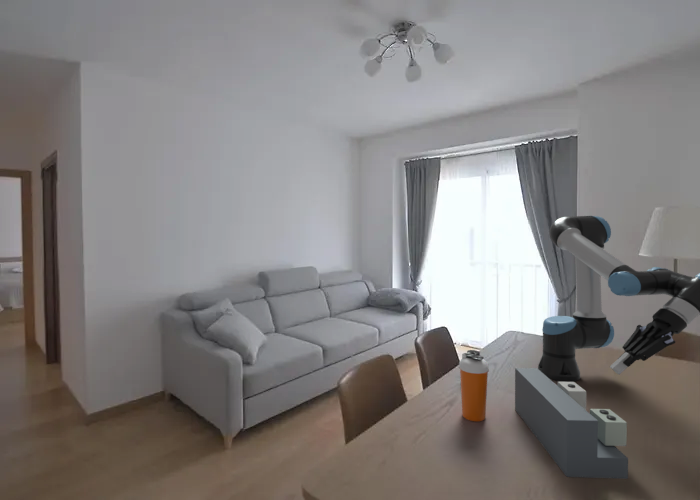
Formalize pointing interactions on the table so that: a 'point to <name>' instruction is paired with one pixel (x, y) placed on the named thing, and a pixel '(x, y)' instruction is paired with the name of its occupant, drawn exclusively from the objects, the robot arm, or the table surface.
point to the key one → (574, 392)
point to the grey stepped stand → (565, 428)
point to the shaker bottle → (473, 386)
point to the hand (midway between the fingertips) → (614, 370)
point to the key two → (610, 427)
